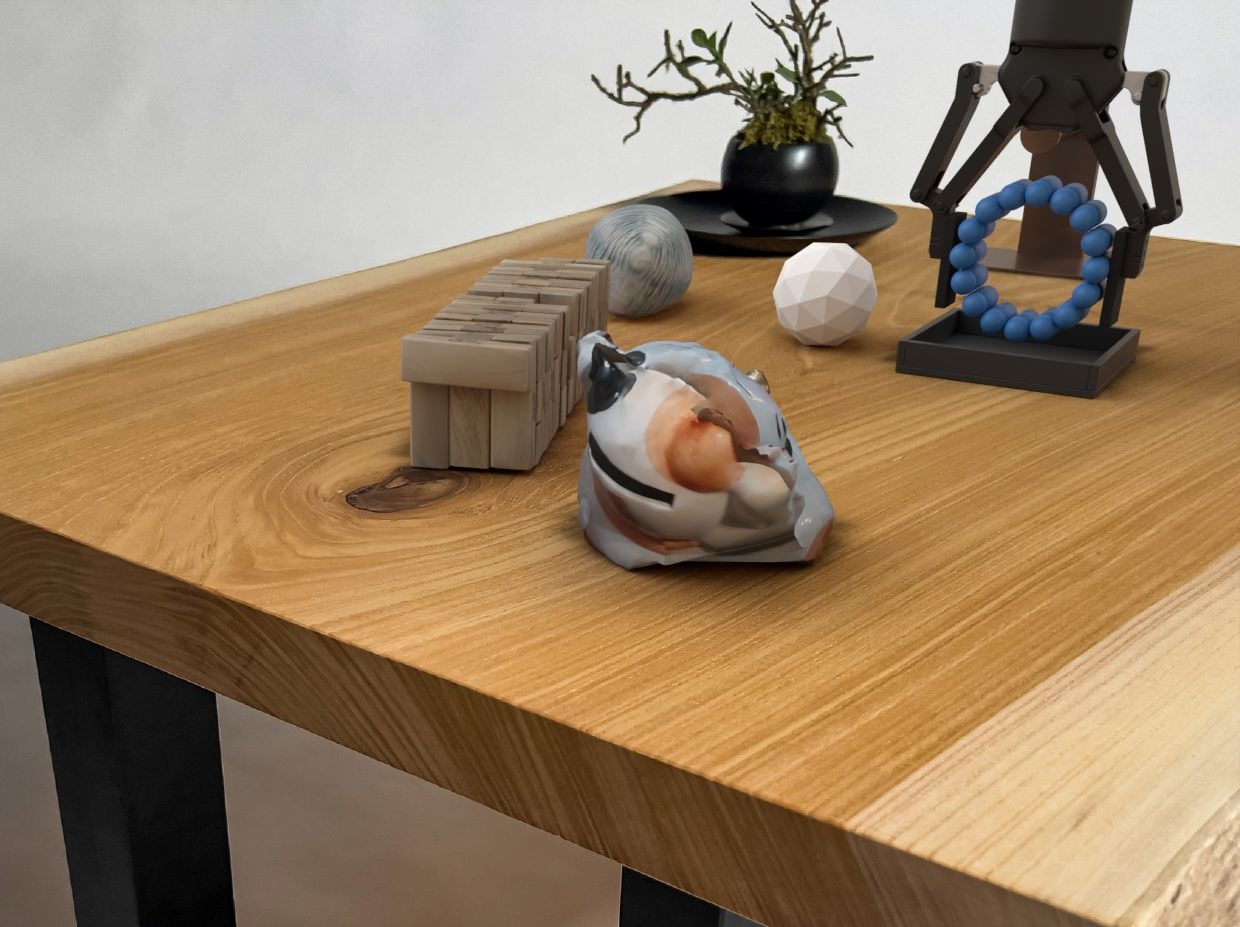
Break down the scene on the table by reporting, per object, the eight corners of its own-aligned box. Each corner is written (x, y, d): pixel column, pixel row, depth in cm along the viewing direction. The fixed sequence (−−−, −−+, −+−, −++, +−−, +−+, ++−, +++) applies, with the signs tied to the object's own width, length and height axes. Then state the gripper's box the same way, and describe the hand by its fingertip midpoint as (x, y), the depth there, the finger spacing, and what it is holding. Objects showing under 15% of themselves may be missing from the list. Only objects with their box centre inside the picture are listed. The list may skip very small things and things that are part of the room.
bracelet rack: (1114, 272, 151) (1144, 105, 144) (1084, 294, 142) (1115, 116, 135) (987, 259, 156) (1010, 98, 149) (951, 279, 147) (973, 108, 141)
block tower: (506, 371, 121) (396, 473, 95) (507, 255, 117) (394, 328, 91) (609, 377, 119) (526, 482, 93) (613, 259, 115) (529, 335, 90)
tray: (1135, 359, 120) (1141, 329, 119) (1093, 399, 111) (1099, 365, 109) (949, 336, 127) (953, 307, 126) (894, 371, 117) (898, 340, 116)
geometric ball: (844, 379, 126) (911, 306, 120) (763, 351, 122) (827, 273, 117) (822, 313, 130) (885, 239, 124) (743, 283, 126) (804, 206, 121)
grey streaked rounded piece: (584, 248, 143) (634, 151, 136) (676, 301, 143) (731, 207, 136) (542, 316, 133) (594, 216, 126) (642, 373, 134) (698, 276, 127)
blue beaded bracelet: (1106, 341, 117) (1136, 180, 112) (1090, 354, 113) (1120, 188, 108) (955, 322, 122) (977, 167, 117) (935, 334, 119) (957, 175, 113)
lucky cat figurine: (885, 550, 83) (904, 344, 72) (715, 681, 80) (707, 487, 69) (688, 412, 91) (677, 206, 80) (526, 526, 88) (491, 329, 76)
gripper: (887, -20, 110) (852, 304, 120) (1257, -13, 99) (1184, 344, 109) (922, -23, 115) (886, 287, 125) (1275, -16, 104) (1204, 323, 114)
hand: (1024, 314), depth 117 cm, fingers closed on blue beaded bracelet, 11 cm apart
